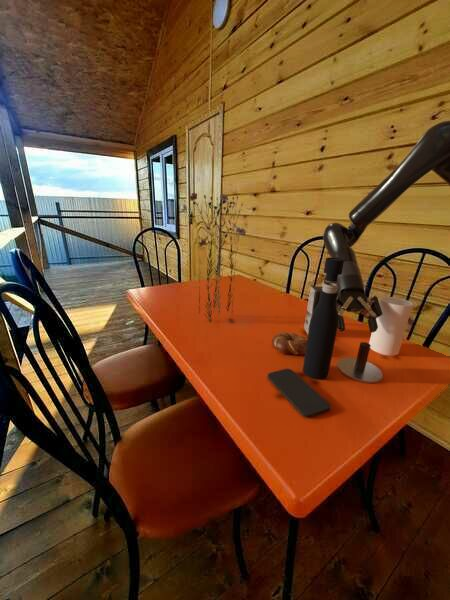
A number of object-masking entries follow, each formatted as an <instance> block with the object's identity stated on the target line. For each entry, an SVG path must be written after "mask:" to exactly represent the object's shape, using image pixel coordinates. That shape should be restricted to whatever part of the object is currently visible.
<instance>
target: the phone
mask: <svg viewBox="0 0 450 600" xmlns="http://www.w3.org/2000/svg"><path fill="white" fill-rule="evenodd" d="M267 379H268V380H269V381H270V382H271V383H272V384H273V386H274V387H275V388H276V389H277V390H278V391H279V392H280V393H281V395H283V396H284V397H285V399H286V400H287V401H288V402H289V403H290V404H291V405H292V406H293V407H294V408H295V409H296V410H297V411H298V413H299V414H300V415H301V416H303V418H312V417H315V416H317V415H320V414H323V413H326V412H329V411H330V410H331V406H332V405H331V404H330V402H328V401H327V400H326V399H325V398H324V397H323V396H322V395H320V393H319V392H317V391H316V390H315V389H314V388H313V387H312V386H311V385H309V384H308V383H307V382H306V381H305V380H304V379H303V378H302V377H301V376H299V374H297V373H296V372H295V371H294V370H293V369H291V368H283V369H280V370H276V371H272V372H268V373H267Z"/></svg>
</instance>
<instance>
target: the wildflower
mask: <svg viewBox="0 0 450 600" xmlns="http://www.w3.org/2000/svg"><path fill="white" fill-rule="evenodd" d="M190 194H191V195H189V199H190V202H192V205H194V206H195V208H196V210H197V211H198V212H199V214H200V215H198V216H199V217H200V218H201V219H202V220H203V222H204V226H205V230H206V231H207V232H208V234H209V235H210V240H209V238H208V236H206V239H203V237H202V238H201V236H200V235H198V246H197V247H198V249H202V250H204V249H205V245H207V244H206V243H207V242H208V243H209V244H210V248H208V250H209V254H208V257H206V258H207V259H206V261H205V262H206V266H207V267H206V280H207V284H209V282H210V279H211V277H212V276H213V275H214V274H215V275H216V276H215V277H216V278H215V280H214V282H215V285H214V286H215V287H214V292H213V294H212V296H213V297H214V298H212V301H213V302H211V298H210V296H211V293H210V291H209V290H210V287H212V286H213V283H211V285H210V286H209V285H206V286H205V287H206V290H207V300H205V302H206V304H204V306H205V308H206V309H204V311H205V312H206V314H205V313H203V315H204V316H205V317H206V318H207V319H208V321H209V323H211V322H212V318H213V317H212V314H213V313H212V312H213V310H215V308H216V309H217V312H218V315H220V314H221V306H220V305H221V304H222V303H221V301H220V300H221V295H220V287H221V285H220V286H219V285H218V284H219V283H220V282H221V280H222V278H220V280H219V279H218V278H219V277H220V274H221V271H222V270H223V269H225V267H222V266H223V265H224V263H223V264H222V262H223V260H224V257H223V253H222V247H223V246H225V240H226V238H227V236H228V235H229V240H230V241H232V240H233V243H232V242H231V244H230V251H228V253H229V254H228V255H227V257H228V259H229V260H230V261H233V260H234V257H232V254H233V253H232V252H233V244H238V242H239V240H240V237H238V236H245V235H246V230H245V229H244V228H241V227H240V226H239V227H238V226H237V219H239V216H240V213H241V210H236V208H235V206H236V202H234V201H235V197H234V196H232V201H230V200H229V197H228V196H229V195H225V194H220V196H219V197H218V196H216V201H217V202H216V206H213V202H212V200H213V196H210V198H209V199H210V202H208V205H207V202H206V198H207V196H206V194H204V195H203V198H204V205H205V210H203V209H202V208H203V207H201V208H200V207H199V203H198V202H196V201H197V199H198V193H197V192H192V193H190ZM219 199H220V202H218V200H219ZM238 199H239V196H238V195H237V196H236V200H238ZM224 204H226V206H224ZM243 205H244V202H241V206H240V208H242V206H243ZM208 208H209V209H210V210H211V214H212V215H211V216H209V214H207V213H209V212H210V210H209V209H208ZM231 208H232V209H231ZM230 209H231V212H230ZM207 210H208V211H207ZM203 211H204V213H205V217H206V218H207V219H208V220H207V222H206V221H205V220H204V216H203V215H202V213H203ZM223 212H225V215H223ZM232 212H234V214H232ZM237 212H238V214H237ZM235 214H237V217H236V216H235ZM227 215H228V216H229V217H230V218H228V219H227V220H228V222H227V220H226V218H227ZM218 218H220V219H218ZM231 218H233V219H235V218H236V220H235V222H231ZM210 219H211V220H212V221H214V220H215V221H214V224H213V225H212V227H211V226H210V225H211V223H212V221H210ZM217 219H218V221H217ZM221 220H222V221H221ZM220 221H221V222H223V223H222V224H219V222H220ZM227 223H228V224H229V227H228V224H227ZM232 225H233V226H232ZM216 227H217V229H218V230H216V233H215V236H216V239H217V243H219V242H220V245H215V248H216V250H217V252H218V253H217V254H216V258H217V261H216V260H214V257H212V245H214V244H213V243H215V244H216V241H215V238H213V237H214V231H212V230H213V229H214V228H216ZM224 227H225V228H226V231H223V228H224ZM235 228H236V229H235ZM232 232H235V237H233V236H231V234H232ZM217 233H219V234H220V236H219V235H217ZM200 239H201V240H200ZM223 239H224V240H223ZM237 253H238V247H236V250H235V252H234V255H235V258H237V257H236V256H237ZM213 260H214V261H213ZM215 262H216V268H215V267H214V264H215ZM227 263H228V265H229V267H230V275H229V273H228V272H227V276H228V277H229V279H230V282H233V281H235V276H236V266H234V265H237V261H236V260H234V264H233V262H229V261H228V262H227ZM199 264H202V258H199ZM212 267H213V268H212ZM221 267H222V268H221ZM233 267H234V269H233ZM233 270H234V271H233ZM213 271H214V272H213ZM212 272H213V273H212ZM198 273H199V276H201V274H202V272H201V270H200V267H198ZM211 273H212V274H211ZM198 280H199V283H201V277H198ZM198 288H199V289H198V290H199V291H198V313H201V307H200V306H201V287H198ZM228 289H229V290H228V292H227V303H228V305H227V306H225V309H226V310H227V312H230V305H231V313H232V315H234V301H232V299H233V296H234V291H235V287H232V284H231V283H229V288H228ZM212 307H213V310H212ZM207 315H208V316H207Z"/></svg>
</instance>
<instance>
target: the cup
mask: <svg viewBox="0 0 450 600" xmlns="http://www.w3.org/2000/svg"><path fill="white" fill-rule="evenodd" d="M378 301H379V304H380V307H381V310H382V315H381V316H379V317H378V318H376V321H377V325H378V329H377V331H375V332H370V334H371V335H370V337H369V341H368V344H370V345H371V346H370V350H371V351H373V352H375V353H378V354H380V355H384V356H390V357H391V356H392V357H393V356H398V355H399V354H400V350H401V346H402V343H403V340H404V337H405V333H406V330H407V326H408V323H409V319H410V316H411V313H412V309H413V305H414V303H413V302H411V301H410V300H408V299H403V298H400V297H395V296H382V297H380V298H379V300H378Z"/></svg>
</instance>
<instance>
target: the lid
mask: <svg viewBox="0 0 450 600" xmlns="http://www.w3.org/2000/svg"><path fill="white" fill-rule="evenodd" d="M370 346H371V345H370V344H369V342H366V341H361V342H360V343H359V346H358V351H357V355H356V357H343V358H340V359H339V360H338V361H337V364H336V367H337V369H338V371H339V372H340V373H341V374H342V375H343V376H345V377H347V378H348V379H350V380H351V381H356V382H359V383H362V384H369V385H370V384H378V383H380V382H381V381H382V380H383V378H384V374H383V372H382V370H381V369H380V368H379V367H378V366H377V365H375V364H373V363H372V362H370V361H368V357H369V355H370V351H371V348H370Z"/></svg>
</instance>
